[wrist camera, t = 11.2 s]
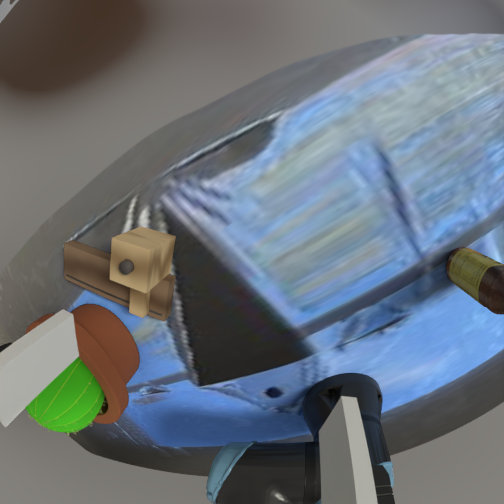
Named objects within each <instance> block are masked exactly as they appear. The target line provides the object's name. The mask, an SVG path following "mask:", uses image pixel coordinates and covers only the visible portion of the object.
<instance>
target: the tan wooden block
mask: <svg viewBox="0 0 504 504" xmlns="http://www.w3.org/2000/svg"><path fill="white" fill-rule="evenodd" d="M175 237H176V236H173V235H169V234H166V233H162V232H159V231H155V230H152V229H148V228H145V227H139V228H136V229H133V230H131V231H128V232H126V233H123V234H120V235H118V236H115V237H113V238H112V245H111V259H110V280H112V281H115V282H117V283H120V284H122V285H125V286H127V287H130V307H129V313H132V314H134V315H137V316H139V317H142V318H144V317H145V316H146V315H147V314H148V312H149V302H150V291H151V289H152V288H153V287H154V286H155V285H157V284H158V283H159V282H160V281H161V280H162V279H164V278H165V277H166V276H167V275H168V274H170V269H171V262H172V256H173V249H174V243H175Z"/></svg>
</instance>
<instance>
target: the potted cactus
mask: <svg viewBox="0 0 504 504" xmlns="http://www.w3.org/2000/svg"><path fill="white" fill-rule="evenodd" d="M70 313H71V314H73V317H74V325H75V333H76V340H77V346H78V352H79V357H77V358H76V359H75V360H74V361H73V362H72V363H71V364H70V365H69V366H68V367H67V368H66V369H65V370H64V371H62V372H61V373H60V374H59V375H58V376H57V377H56V378H55V379H54V380H53V381H52V382H51V383H50V384H49V385H48V386H47V387H46V388H45V389H44V390H43V391H42V392H41V393H39V394H38V395H37V396H36V397H35V398H34V399H33V400H32V401H31V402H30V403H29V404H28V405H27V406H26V407H25V409H26V410H27V411H28V412H29V415H31V417H33V418H34V419H35V420H36V421H37V422H38V423H40V425H42V427H43V426H44V427H46V428H48V429H49V430H53V431H57V432H65V433H67V435H68V433H69V432H75V431H79V430H81V429H83V428H85V427H86V426H88V425H89V424H90V423H92V421H93V422H97V423H102V424H110V423H113V422H116V421H117V420H118V419H119V417H120V416H121V415H122V413H123V412H124V410H125V409H126V407H127V405H128V401H129V396H128V391H127V388H126V384H127V383H128V382H129V380H130V379H131V378H132V376H133V375H134V374H135V372H136V371H137V369H138V367H139V363H140V358H139V352H138V349H137V346H136V343H135V341H134V339H133V337H132V335H131V334H130V332H129V330H128V329H127V328H126V326H125V325H124V324H123V322H122V321H121V320H120V319H119V318H118V317H117V316H116V315H115V314H114V313H112V312H111V311H109V310H108V309H106V308H104V307H102V306H99V305H95V304H85V305H81V306H79V307H77V308H76V309H75V310H73V311H72V312H70ZM54 315H55V314H47V315H44V316H42V317H41V318H39V319H38V320H36V321H35V322H33V323H32V324H31V325H30V326H29V327H28V328H27V330H26V334H27V333H28V332H30V331H31V330H33V329H34V328H36V327H37V326H39V325H40V324H42V323H43V322H45V321H46V320H48V319H49V318H51V317H52V316H54ZM26 334H25V335H26ZM90 426H91V425H90ZM76 433H77V432H76ZM76 433H75V434H76ZM78 433H79V432H78ZM76 435H77V434H76Z"/></svg>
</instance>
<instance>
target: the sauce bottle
mask: <svg viewBox="0 0 504 504" xmlns="http://www.w3.org/2000/svg"><path fill="white" fill-rule="evenodd" d="M446 270H447V275H448V278H449V279H450V280H451V281H452V282H453V283H454V284H455V285H456V286H458V287H459V288H460V289H462V290H463V291H464V292H466V293H467V294H468V295H470V296H471V297H472V298H474V299H475V300H476V301H477V302H479V303H480V304H481V305H483V306H484V307H487V308H488V309H489V310H490V311H492V312H493V313H495V314H504V264H501V263H499V262H497V261H495V260H493V259H491V258H489V257H487V256H485V255H483V254H481V253H479V252H476V251H474V250H472V249H469V248H465V247H462V248H458V249H456V250H454V251H453V252H452V254H451V255H450V257H449V259H448V262H447V265H446Z"/></svg>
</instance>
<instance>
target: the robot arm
mask: <svg viewBox="0 0 504 504" xmlns="http://www.w3.org/2000/svg"><path fill="white" fill-rule="evenodd" d="M77 357H79V352H78V346H77V340H76V333H75V325H74V317H73V314H71V313H70V312H68V311H66V310H64V309H63V310H61V311H60V312H58V313H57V314H55V315H54V316H52V317H51V318H49V319H48V320H46V321H45V322H43V323H42V324H40V325H39V326H37V327H36V328H34V329H33V330H31V331H30V332H28V333H27V334H26V335H24V336H23V337H21V338H20V339H18V340H17V341H16V342H14V343H13V344H12V343H11V342H10V343H7V344H4V345H2V346H0V422H1V423H2V424H3V425H4V426H5V427H7V426H8V425H9V423H10V422H11V421H12V420H13V419H14V418H15V417H16V416H17V415H18V414H19V413H20V412H21V411H22V410H23V409H24V408H25V407H26V406H27V405H28V404H29V403H30V402H31V401H32V400H33V399H34V398H35V397H36V396H37V395H38V394H39V393H41V392H42V391H43V390H44V389H45V388H46V387H47V386H48V385H49V384H50V383H51V382H52V381H53V380H54V379H55V378H56V377H57V376H58V375H59V374H60V373H61V372H62V371H64V370H65V369H66V368H67V367H68V366H69V365H70V364H71V363H72V362H73V361H74V360H75V359H76V358H77ZM381 410H382V393H381V390H380V387H379V385H378V383H377V382H376V381H375V380H374V379H373V378H371V377H369V376H367V375H363V374H357V373H348V374H341V375H337V376H333V377H330V378H328V379H325V380H323V381H322V382H320V383H318V384H317V385H315V386H314V387H313V388H312V389H311V390H310V391H309V392H308V393H307V395H306V396H305V398H304V401H303V416H304V419H305V421H306V423H307V425H308V427H309V429H310V431H311V433H312V435H313V437H314V442H296V443H258V442H257V441H252V442H231V443H228V444H227V445H225V446H224V447H223V448H222V449H221V450H220V451H219V453H218V454H217V456H216V458H215V459H214V462H213V464H212V466H211V469H210V472H209V476H208V481H207V490H208V491H207V498H208V500H209V501H210V502H212V503H213V504H395V501H394V497H393V495H392V493H393V492H392V487H393V485H394V478H393V471H392V468H393V464H392V462H391V461H390V456H389V452H388V448H387V445H386V441H385V437H384V434H383V430H382V427H381V423H380V418H381Z"/></svg>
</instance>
